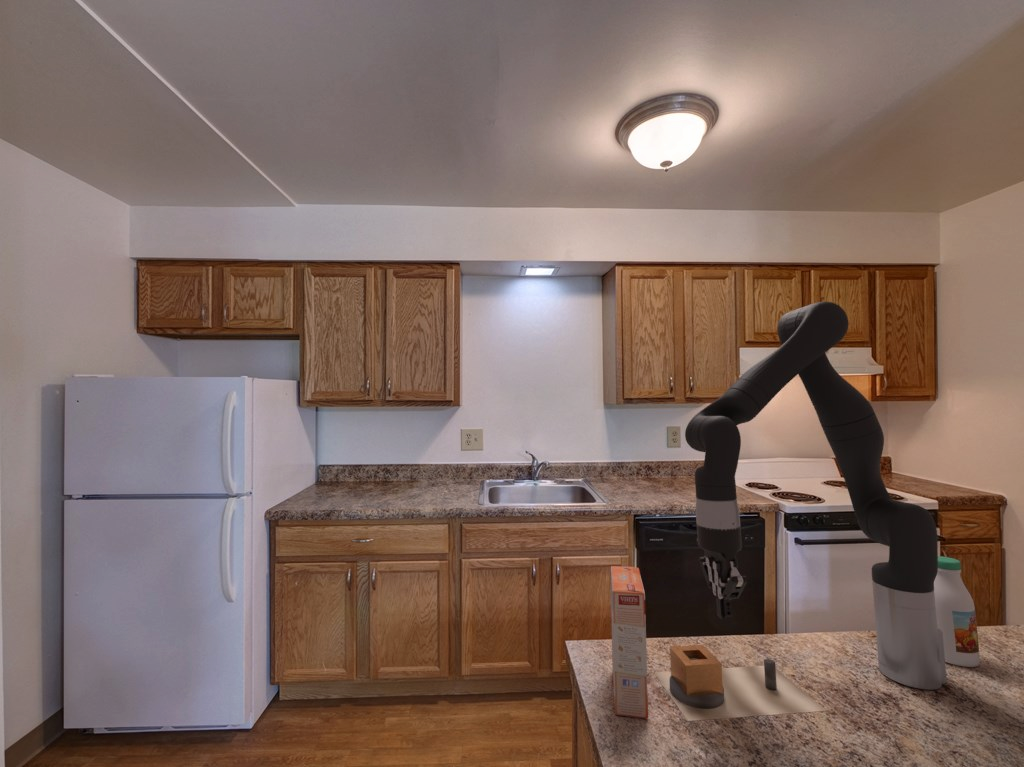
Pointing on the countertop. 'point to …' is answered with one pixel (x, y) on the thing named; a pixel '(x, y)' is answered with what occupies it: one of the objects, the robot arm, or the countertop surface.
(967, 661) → the milk bottle
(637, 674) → the cracker box
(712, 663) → the hollow wooden cube
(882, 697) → the countertop surface
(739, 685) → the board
